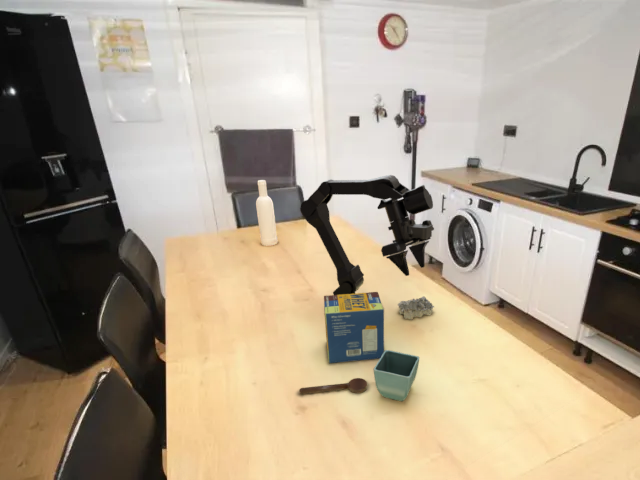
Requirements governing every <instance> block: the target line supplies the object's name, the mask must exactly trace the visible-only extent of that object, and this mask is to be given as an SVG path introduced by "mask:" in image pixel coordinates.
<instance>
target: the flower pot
mask: <svg viewBox="0 0 640 480" xmlns="http://www.w3.org/2000/svg"><path fill="white" fill-rule="evenodd" d="M419 363H420V356H418V355H415V354H409V353H404V352H400V351H399V352H398V351H395V350H390V349H384V353H383V354H382V356H381V358H379V359H378V360H377V362H376V364H375V366H374V367H373V376H374V377H373V378H374V382H375V387H376V389H377V391H378V393H379V394H380V395H381V396H382V397H383V398H387V399H390V400H394V401H399V402H404V401H405V400H406V399H407V397H408V395H409V393H410V391H411V388H412V387H413V384H414V382H415V379H416V377H417V373H418V368H419Z"/></svg>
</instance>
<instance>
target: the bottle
mask: <svg viewBox="0 0 640 480" xmlns="http://www.w3.org/2000/svg"><path fill="white" fill-rule="evenodd" d="M257 188H258V197H257V198H256V201H255V206H256V208H255V209H256V214H257V215H256V216H257V221H258V229H259V230H258V231H259V236H260V237H259V238H260V243H261V245H262V246H263V247H264V246H265V247H272V246H275V245H277V244H278V243H279V241H278V240H279V239H278V233H277V224H276V217H275V208H274V207H275V206H274V202H273V200H272V198H271V197H270V196H269V195H268V188H267V180H265V179H258V180H257Z"/></svg>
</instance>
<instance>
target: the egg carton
mask: <svg viewBox="0 0 640 480" xmlns="http://www.w3.org/2000/svg"><path fill="white" fill-rule="evenodd" d="M397 306H398V312H399V315H403V318H404V320H413V319H414V318H416V317H417V318H422V317H423V316H424V315H426V316H431V315H432V313H433V309H434V308H435V305H433V303H432V302H431V301H429V299H428V298H427V297H426V296H421V297H419V298H412V299H409V300H401V301H399V302H398V304H397Z"/></svg>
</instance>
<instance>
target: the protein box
mask: <svg viewBox="0 0 640 480" xmlns="http://www.w3.org/2000/svg"><path fill="white" fill-rule="evenodd" d="M323 307H324V311H323V312H324V325H325V339H326V350H327V359H328V361H327V362H328V364H337V363H346V362H357V361H367V360H377V359H378V360H379V359H380V358H381V356H382V354H383V353H384V351H385V308H384V306H383V303H382V300H381V298H380V294H379V292H378V291H371V292H370V291H369V292H355V294H342V295H333V294H330V295H324V296H323Z"/></svg>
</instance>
